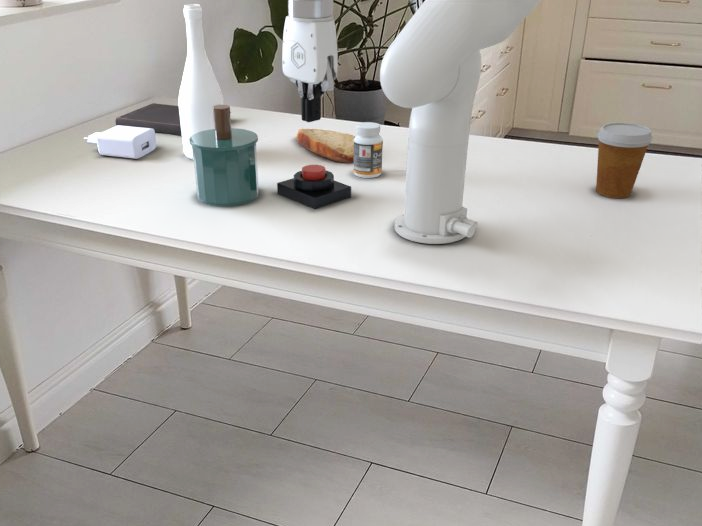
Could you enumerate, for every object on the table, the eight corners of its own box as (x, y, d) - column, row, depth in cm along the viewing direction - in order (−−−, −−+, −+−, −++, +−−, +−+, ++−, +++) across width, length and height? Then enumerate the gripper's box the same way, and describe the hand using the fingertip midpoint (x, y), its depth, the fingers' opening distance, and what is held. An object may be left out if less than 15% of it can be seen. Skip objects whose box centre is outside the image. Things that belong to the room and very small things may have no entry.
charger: (99, 142, 173) (157, 148, 168) (75, 154, 165) (135, 160, 161) (96, 121, 170) (154, 126, 166) (71, 132, 163) (132, 138, 159)
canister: (270, 196, 142) (267, 141, 136) (220, 211, 136) (215, 154, 130) (235, 181, 149) (231, 128, 144) (186, 195, 143) (180, 140, 137)
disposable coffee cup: (585, 198, 140) (597, 133, 134) (588, 181, 147) (600, 120, 141) (639, 204, 137) (654, 138, 131) (640, 187, 145) (654, 124, 138)
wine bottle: (235, 156, 163) (225, 5, 147) (196, 164, 158) (180, 9, 142) (215, 146, 169) (203, 0, 154) (176, 153, 165) (160, 4, 149)
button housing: (351, 197, 141) (351, 177, 139) (315, 209, 136) (314, 188, 134) (313, 183, 148) (312, 163, 146) (277, 194, 143) (276, 173, 141)
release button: (330, 177, 140) (330, 168, 139) (312, 183, 137) (312, 173, 137) (314, 171, 143) (314, 162, 142) (297, 177, 140) (296, 168, 139)
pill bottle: (379, 179, 149) (381, 129, 144) (351, 178, 150) (351, 128, 145) (383, 170, 154) (385, 121, 149) (355, 169, 155) (356, 120, 150)
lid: (271, 144, 137) (270, 107, 133) (215, 159, 130) (211, 119, 126) (232, 130, 145) (229, 94, 141) (176, 143, 138) (172, 106, 134)
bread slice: (300, 135, 176) (299, 119, 174) (375, 141, 172) (375, 124, 170) (275, 158, 161) (274, 141, 159) (357, 165, 157) (357, 147, 155)
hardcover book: (154, 112, 195) (152, 103, 194) (231, 121, 187) (230, 111, 186) (116, 128, 183) (114, 118, 182) (197, 138, 175) (196, 128, 174)
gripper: (265, 6, 128) (269, 115, 137) (323, 17, 118) (322, 133, 128) (299, 1, 132) (300, 108, 142) (357, 12, 122) (355, 125, 132)
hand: (311, 119), depth 135 cm, fingers closed
